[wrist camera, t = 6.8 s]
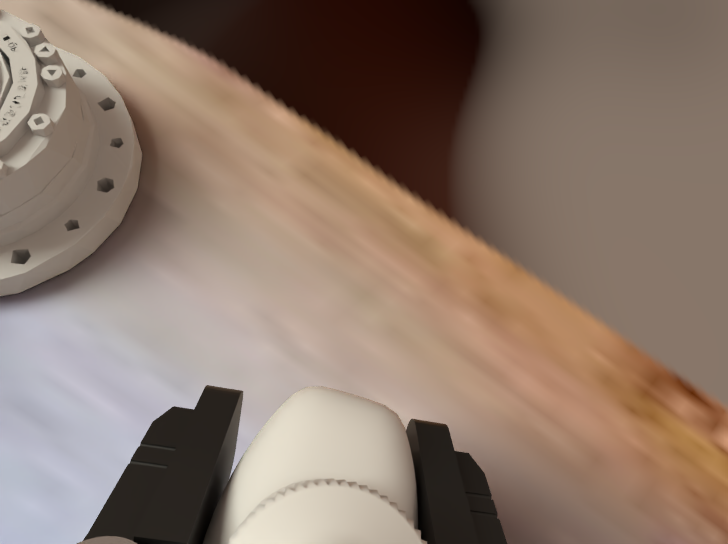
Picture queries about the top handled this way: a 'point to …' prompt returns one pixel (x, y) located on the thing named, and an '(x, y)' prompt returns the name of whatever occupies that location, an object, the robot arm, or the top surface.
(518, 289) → the top surface
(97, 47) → the top surface
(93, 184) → the mechanical component
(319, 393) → the eye dropper bottle
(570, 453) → the top surface
